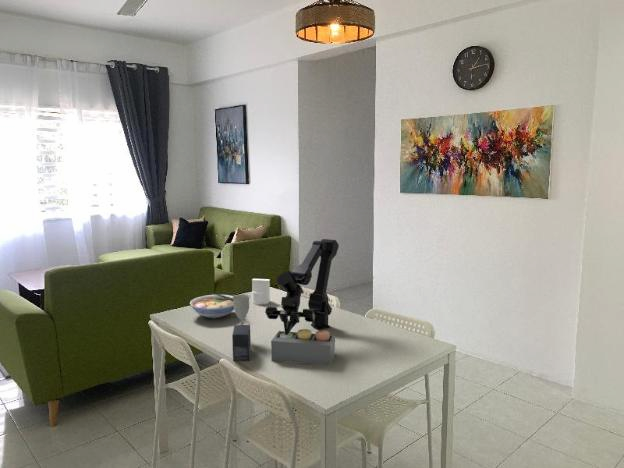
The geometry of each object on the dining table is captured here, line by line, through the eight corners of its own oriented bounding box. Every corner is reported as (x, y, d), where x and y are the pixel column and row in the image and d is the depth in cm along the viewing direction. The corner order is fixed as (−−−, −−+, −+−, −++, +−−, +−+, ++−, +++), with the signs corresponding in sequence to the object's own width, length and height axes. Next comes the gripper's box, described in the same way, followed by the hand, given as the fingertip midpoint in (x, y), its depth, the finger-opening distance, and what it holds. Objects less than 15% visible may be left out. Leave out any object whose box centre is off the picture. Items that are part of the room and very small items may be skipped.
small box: (234, 350, 187) (233, 324, 185) (251, 349, 188) (250, 324, 186) (232, 361, 177) (231, 334, 175) (250, 361, 177) (249, 333, 176)
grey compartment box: (279, 349, 188) (278, 331, 187) (334, 354, 184) (334, 335, 182) (271, 360, 178) (271, 340, 177) (330, 365, 173) (330, 345, 172)
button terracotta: (317, 337, 183) (317, 329, 182) (330, 338, 182) (330, 330, 181) (314, 342, 178) (314, 334, 177) (328, 343, 177) (328, 335, 176)
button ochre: (299, 336, 184) (299, 328, 184) (312, 337, 183) (312, 329, 183) (296, 341, 179) (296, 333, 179) (309, 342, 178) (309, 334, 178)
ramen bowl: (180, 315, 229) (179, 298, 228) (221, 305, 245) (221, 289, 243) (207, 328, 211) (206, 310, 210) (250, 317, 226) (250, 300, 225)
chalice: (236, 343, 194) (235, 300, 191) (231, 337, 200) (230, 295, 197) (253, 340, 198) (252, 297, 195) (247, 334, 203) (247, 293, 201)
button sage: (281, 339, 186) (281, 332, 185) (294, 340, 185) (294, 333, 184) (278, 344, 181) (277, 336, 180) (291, 345, 180) (291, 337, 179)
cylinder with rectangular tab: (250, 304, 247) (249, 281, 245) (255, 299, 256) (254, 277, 254) (267, 305, 246) (267, 282, 244) (271, 300, 254) (271, 277, 253)
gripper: (266, 286, 187) (257, 322, 178) (313, 289, 183) (307, 326, 174) (272, 300, 196) (264, 335, 187) (317, 303, 192) (311, 339, 183)
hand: (286, 334), depth 182 cm, fingers closed, pressing on button sage
